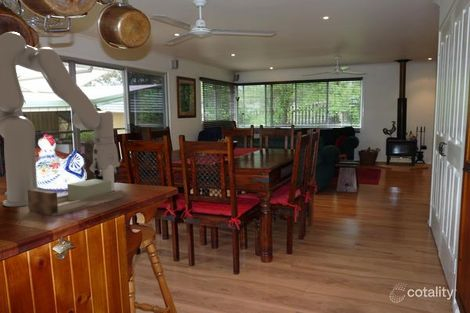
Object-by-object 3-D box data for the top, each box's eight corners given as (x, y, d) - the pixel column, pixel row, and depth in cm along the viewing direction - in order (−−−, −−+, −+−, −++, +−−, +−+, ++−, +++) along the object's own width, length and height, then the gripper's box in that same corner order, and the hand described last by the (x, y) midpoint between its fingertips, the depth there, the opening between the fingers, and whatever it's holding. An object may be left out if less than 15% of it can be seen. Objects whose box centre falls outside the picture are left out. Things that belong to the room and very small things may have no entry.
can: (109, 192, 151) (108, 163, 150) (95, 192, 153) (93, 163, 151) (117, 189, 158) (116, 161, 156) (103, 189, 159) (102, 161, 158)
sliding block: (68, 199, 134) (67, 184, 133) (94, 193, 144) (94, 178, 144) (85, 202, 129) (84, 186, 129) (111, 195, 140) (110, 180, 139)
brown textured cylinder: (90, 183, 172) (88, 140, 170) (105, 183, 172) (103, 140, 170) (83, 186, 165) (80, 141, 162) (99, 186, 164) (97, 141, 162)
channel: (28, 212, 122) (27, 189, 121) (100, 194, 149) (99, 176, 148) (52, 216, 117) (51, 193, 116) (122, 197, 143) (121, 178, 142)
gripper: (94, 143, 143) (96, 188, 146) (126, 140, 159) (128, 181, 161) (80, 142, 147) (83, 186, 149) (113, 139, 162) (115, 179, 164)
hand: (106, 183), depth 155 cm, fingers closed on can, 6 cm apart
